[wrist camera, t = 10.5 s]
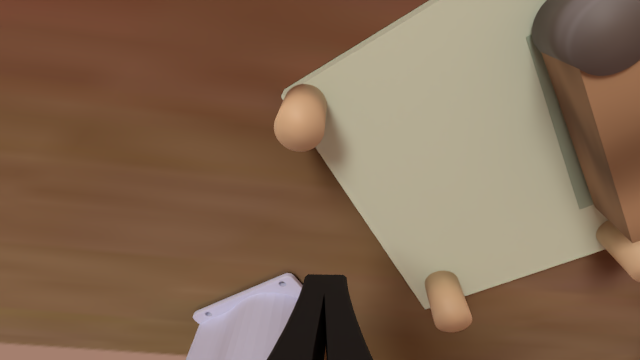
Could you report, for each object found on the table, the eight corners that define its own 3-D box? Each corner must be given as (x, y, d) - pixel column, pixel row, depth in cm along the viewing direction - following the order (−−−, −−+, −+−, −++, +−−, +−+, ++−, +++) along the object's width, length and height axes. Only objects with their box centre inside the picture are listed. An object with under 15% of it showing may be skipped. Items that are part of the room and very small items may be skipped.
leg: (522, 12, 15) (563, 22, 12) (594, -31, 14) (654, -29, 11) (592, 208, 20) (632, 247, 17) (648, 185, 19) (700, 223, 16)
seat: (418, 297, 27) (430, 349, 23) (278, 90, 19) (264, 120, 15) (634, 222, 22) (690, 272, 19) (564, -86, 15) (636, -101, 11)
